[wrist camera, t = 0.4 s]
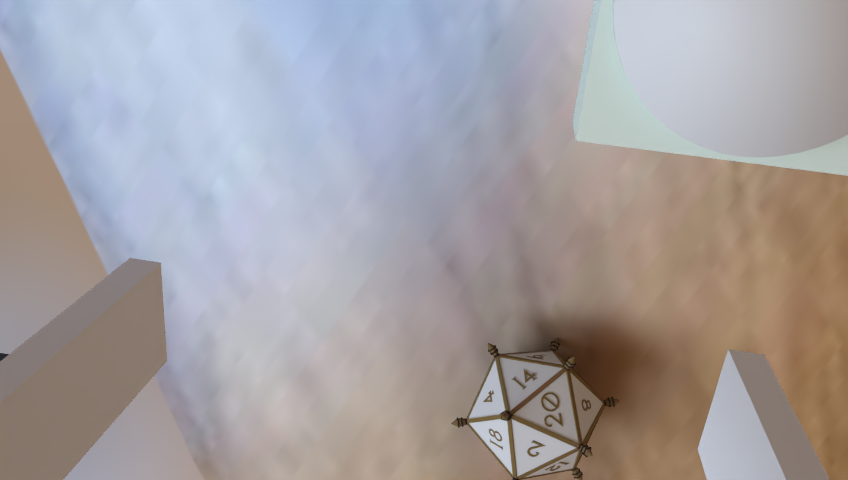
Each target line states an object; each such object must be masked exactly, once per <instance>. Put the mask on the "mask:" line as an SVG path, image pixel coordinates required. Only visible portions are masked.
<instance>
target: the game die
mask: <svg viewBox="0 0 848 480" xmlns="http://www.w3.org/2000/svg"><path fill="white" fill-rule="evenodd" d="M559 345H560V343H559V342H558V339H556V340H554V341H553V342H551V345H550V347H551V350H546V351H533V352H520V353H507V354H499V353H498V349H497V348H496V345H495V346H494V345H492V344H489V343H488V352H490V354H491V355H493V356H494V359H493V361H492V363H491V365H490V368H489V370H488V372H487V374H486V376H485V379H484V381H483V383H482V385H481V388H480V390H479V392H478V394H477V396H476V399H475V401H474V403H473V405H472V407H471V410H470V412H469V414H468V416H467V418H466V419H464V418H462V417H461V418H457V419H456V420H455V421H454V422H453V423H451V424H453V425H456V426H458V428H459V427H460V426H462V427H463V426H464V425H468V426H469V427H470V428H471V429H472V431H473V432H474V433H475V434H476V435H477V436H478V438H479V439H480V440H481V441H482V442H483V444H484V445H485V446H486V447H487V448H488V449H489V451H490V452H491V453H492V454H493V455H494V457H495V458H496V459H497V460H498V461H499V462H500V464H501V465H502V466H503V467H504V468H505V469H506V471H507V472H508V473H509V474H510V475H511V477H512V478H513V480H521V479H526V478H532V477H537V476H543V475H548V474H553V473H559V472H564V471H569V470H572V472H573V474H572V475H574V476H575V477H574V478H577V479H579V480H582V475H583V474H582V472H580V469H578V468H576V467H577V465H578V462H579V460H580V458H581V456H582V454H583V455H585V456H586V457H587V456H592V452H591V447H588V445H587V443H588V441H589V439H590V437H591V434H592V432H593V430H594V428H595V426H596V424H597V422H598V419H599V417H600V415H601V413H602V411H603V409H604V407H605V406H609V407H611V406H613V407H615V405H616V404H617V403H618V402H619V400H617V399H615V398H613V397H612V398H607V399H606V400H603V399H602V398H601V397H600V396H599V395H598V394H597V393H596V392H595V391H594V390H593V389H592V388H591V387H590V386H589V385H588V384H587V383H586V382H585V380H584V379H583V378H582V377H581V376H580V375H579V374H578V373H577V372H576V371H575V370H574V369H573V367H574V365H576V363H575V357H571V358H570V357H568V359H567V360H566V361H565V360H564V359H563V358H562V357H561V356H560V355H559V354H558V353H557V352H556V351H557V350H558V346H559Z"/></svg>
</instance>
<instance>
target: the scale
mask: <svg viewBox="0 0 848 480" xmlns="http://www.w3.org/2000/svg"><path fill="white" fill-rule="evenodd" d="M573 127H574V133H575V139H576V141H582V142H590V143H598V144H606V145H613V146H621V147H629V148H637V149H645V150H652V151H660V152H668V153H676V154H684V155H691V156H699V157H707V158H715V159H723V160H730V161H738V162H746V163H754V164H762V165H770V166H777V167H785V168H793V169H801V170H809V171H816V172H824V173H832V174H840V175H848V0H594V5H593V10H592V16H591V22H590V27H589V33H588V38H587V44H586V50H585V55H584V61H583V67H582V72H581V78H580V84H579V89H578V95H577V101H576V106H575V112H574V117H573Z"/></svg>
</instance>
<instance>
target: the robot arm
mask: <svg viewBox="0 0 848 480" xmlns="http://www.w3.org/2000/svg"><path fill="white" fill-rule="evenodd" d="M166 361H167V354H166V338H165V323H164V307H163V292H162V276H161V263H159V262H153V261H146V260H139V259H133V258H130V259H128V260H127V261H126V262H125V263H123V264H122V265H121V266H120V267H118V268H117V269H116V270H115V271H113V272H112V273H111V274H110V275H108V276H107V277H106V278H105V279H104V280H102V281H101V282H100V283H98V284H97V285H96V286H94V287H93V288H92V289H91V290H90V291H88V292H87V293H86V294H85V295H83V296H82V297H81V298H79V299H78V300H77V301H76V302H74V303H73V304H72V305H71V306H69V307H68V308H67V309H66V310H64V311H63V312H62V313H61V314H59V315H58V316H57V317H56V318H54V319H53V320H52V321H50V322H49V323H48V324H47V325H45V326H44V327H43V328H42V329H40V330H39V331H38V332H37V333H35V334H34V335H33V336H32V337H30V338H29V339H28V340H27V341H26V342H24V343H23V344H22V345H20V346H19V347H18V348H17V349H15V350H14V351H13V352H12V353H11V354H3V353H0V480H63V479H64V478H65V477H66V476H67V475H68V473H69V472H70V471H71V470H72V469H73V468H74V467H75V465H76V464H77V463H78V462H79V461H80V460H81V458H82V457H83V456H84V455H85V454H86V453H87V452H88V450H89V449H90V448H91V447H92V446H93V445H94V444H95V442H96V441H97V440H98V439H99V438H100V437H101V436H102V434H103V433H104V432H105V431H106V430H107V429H108V428H109V426H110V425H111V424H112V423H113V422H114V420H115V419H116V418H117V417H118V416H119V415H120V414H121V413H122V412H123V410H124V409H125V408H126V407H127V406H128V405H129V403H130V402H131V401H132V400H133V399H134V398H135V397H136V395H137V394H138V393H139V392H140V391H141V390H142V389H143V387H144V386H145V385H146V384H147V383H148V381H150V379H151V378H152V377H153V376H154V375H155V374H156V373H157V371H158V370H159V369H160V368H161V367H162V366H163V365H164V363H165V362H166ZM698 451H699V455H700V458H701V461H702V465H703V468H704V471H705V475H706V478H707V480H830V479H829V477H828V475H827V473H826V472H825V470H824V468H823V466H822V464H821V462H820V460H819V458H818V456H817V454H816V452H815V451H814V449H813V447H812V445H811V443H810V441H809V439H808V437H807V435H806V433H805V431H804V430H803V428H802V426H801V424H800V422H799V420H798V418H797V416H796V414H795V412H794V410H793V409H792V407H791V405H790V403H789V401H788V399H787V397H786V395H785V393H784V391H783V389H782V388H781V386H780V384H779V382H778V380H777V378H776V376H775V374H774V372H773V370H772V368H771V366H770V365H769V363H768V361H767V359H766V357H765V355H763V354H756V353H750V352H743V351H737V350H730V349H728V352H727V355H726V358H725V362H724V365H723V368H722V371H721V375H720V378H719V381H718V385H717V388H716V391H715V394H714V398H713V401H712V404H711V407H710V411H709V414H708V417H707V421H706V424H705V427H704V430H703V434H702V437H701V440H700V443H699V447H698Z"/></svg>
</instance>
